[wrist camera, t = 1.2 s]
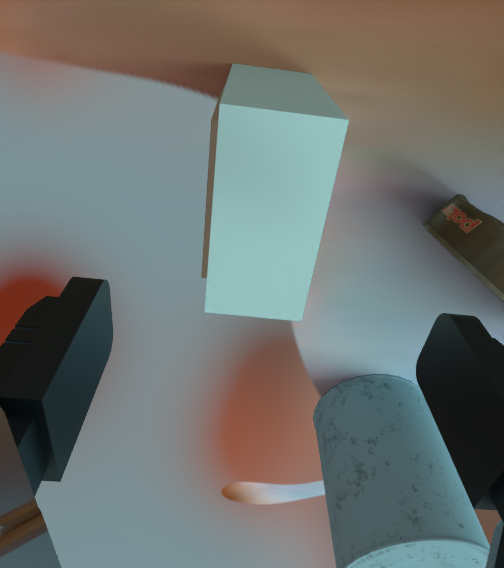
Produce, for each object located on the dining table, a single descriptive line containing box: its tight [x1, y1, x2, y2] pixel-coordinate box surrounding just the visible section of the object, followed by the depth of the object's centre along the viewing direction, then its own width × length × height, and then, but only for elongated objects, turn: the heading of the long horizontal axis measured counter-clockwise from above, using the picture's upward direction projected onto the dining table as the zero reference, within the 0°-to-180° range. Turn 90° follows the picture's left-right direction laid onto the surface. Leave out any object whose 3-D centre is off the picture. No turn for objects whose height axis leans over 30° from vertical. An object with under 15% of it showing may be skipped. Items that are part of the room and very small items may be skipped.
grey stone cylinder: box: [313, 375, 490, 568], centre depth 31 cm, size 10×10×12 cm
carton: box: [202, 63, 349, 321], centre depth 19 cm, size 4×8×10 cm, turn 173°
